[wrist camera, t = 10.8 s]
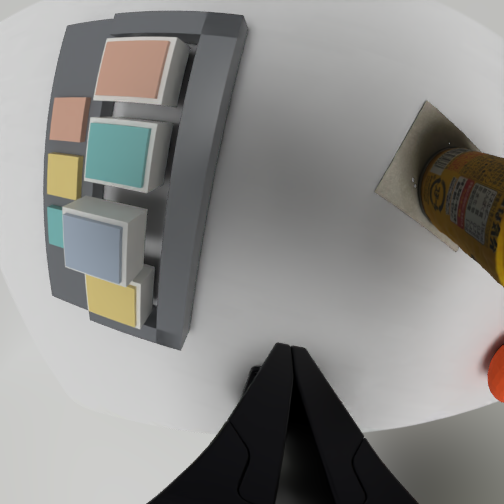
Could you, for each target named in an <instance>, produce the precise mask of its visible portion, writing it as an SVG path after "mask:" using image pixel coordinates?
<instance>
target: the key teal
mask: <svg viewBox="0 0 504 504" xmlns="http://www.w3.org/2000/svg"><path fill="white" fill-rule="evenodd" d="M173 124H174V123H167V122H159V121H151V120H143V119H133V118H123V117H90V123H89V131H88V139H87V148H86V159H85V172H84V181H88V182H93V183H98V184H104V185H109V186H114V187H119V188H124V189H129V190H134V191H138V192H143V193H149V192H151V191H152V190H154V189H156V188H158V187H160V186H162V185H163V184H164V177H165V170H166V164H167V158H168V152H169V146H170V140H171V134H172V129H173Z"/></svg>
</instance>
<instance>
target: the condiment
mask: <svg viewBox="0 0 504 504" xmlns="http://www.w3.org/2000/svg"><path fill="white" fill-rule="evenodd" d="M449 142H450V144H449ZM412 178H414V182H412ZM414 184H416V188H414ZM375 193H376V194H378V195H379V196H381V197H382V198H384V199H385V200H387V201H388V202H390V203H391V204H393V205H394V206H396V207H397V208H398V209H400V210H401V211H403V212H404V213H405V214H407V215H408V216H410V217H411V218H412V219H414V220H415V221H416V222H418V223H419V224H421V225H422V226H423V227H425V228H426V229H427V230H428V231H430V232H431V233H432V234H434V235H435V236H436V237H438V238H439V239H440V240H441V241H443V242H444V243H445V244H446V245H448V246H449V247H450V248H451V249H453V250H454V251H455V252H457V250H458V248H459V247H460V248H461V249H462V250H463V251H464V252H465V253H466V254H468V255H469V256H470V257H471V258H473V259H474V260H475V261H476V262H478V263H479V264H480V265H481V266H482V268H484V269H485V270H486V271H487V272H488V273H489V274H490V275H491V276H492V277H493V278H494V279H495V280H496V281H497V282H498V283H499V284H501V285H502V286H503V287H504V158H501V157H497V156H493V155H489V154H485V153H482V152H481V151H480V150H479V149H478V148H477V147H476V146H475V145H474V144H473V143H472V142H471V141H470V140H469V139H468V138H467V137H466V136H465V134H464V133H463V132H462V131H460V130H459V129H458V128H457V127H456V126H455V125H454V124H453V123H452V122H451V121H449V120H448V119H447V118H446V117H445V116H444V115H443V114H442V113H441V112H440V111H439V110H438V109H437V108H435V107H434V106H433V105H432V104H430V103H429V102H428V101H426V102H425V104H424V106H423V108H422V110H421V111H420V113H419V114H418V116H417V118H416V120H415V122H414V123H413V125H412V128H411V129H410V131H409V132H408V134H407V136H406V138H405V139H404V141H403V143H402V145H401V147H400V148H399V150H398V151H397V153H396V155H395V157H394V159H393V161H392V163H391V165H390V166H389V168H388V169H387V171H386V173H385V174H384V176H383V178H382V180H381V182H380V183H379V185H378V187H377V188H376V190H375Z"/></svg>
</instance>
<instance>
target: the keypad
mask: <svg viewBox="0 0 504 504" xmlns="http://www.w3.org/2000/svg"><path fill="white" fill-rule="evenodd" d="M247 32H248V27H247V24H246V21H245V18H244V16H243V15H236V14H226V13H215V12H200V11H144V12H129V13H118V14H115V16H114V19H106V20H98V21H91V22H84V23H78V24H73V25H68V26H67V28H66V32H65V35H64V39H63V42H62V46H61V50H60V54H59V58H58V62H57V67H56V72H55V77H54V82H53V87H52V93H51V99H50V106H49V113H48V121H47V130H46V141H45V155H44V186H43V195H44V226H45V241H46V252H47V261H48V270H49V277H50V284H51V291H52V296H54V297H57V298H59V299H62V300H64V301H66V302H69V303H71V304H74V305H76V306H79V307H81V308H84V309H86V310H88V305H87V295H86V284H85V274H84V273H81V272H78V271H75V270H72V269H69V268H67V267H65V257H64V243H63V217H62V207H63V206H65V205H67V204H69V203H71V202H73V201H75V200H77V199H79V198H82V197H84V196H90V197H95V198H100V199H103V189H104V184H98V183H93V182H88V181H84V172H85V159H86V148H87V139H88V131H89V123H90V117H112V111H113V106H114V101H97V100H93V97H94V92H95V87H96V82H97V77H98V72H99V68H100V63H101V59H102V55H103V51H104V47H105V43H106V40H107V38H121V37H178V38H179V39H180V40H181V41H183V42H184V43H189V44H198V47H197V50H196V54H195V58H194V62H193V66H192V70H191V74H190V78H189V83H188V87H187V91H186V96H185V101H184V105H183V110H182V115H181V120H180V125H179V130H178V136H177V141H176V147H175V152H174V158H173V164H172V171H171V177H170V184H169V191H168V198H167V206H166V214H165V222H164V231H163V241H162V251H161V262H160V274H159V288H158V305H157V307H156V306H153V309H152V312H151V313H150V315H149V316H148V318H147V320H146V321H145V323H144V324H143V326H142V328H141V329H138V328H135V327H132V326H129V325H126V324H123V323H120V322H117V321H114V320H112V319H109V318H106V317H103V316H101V315H98V314H95V313H93V312H90V311H89V316H90V320H92V321H94V322H97V323H99V324H102V325H105V326H107V327H110V328H113V329H115V330H118V331H121V332H124V333H127V334H130V335H133V336H135V337H138V338H141V339H144V340H147V341H151V342H154V343H157V344H160V345H163V346H167V347H170V348H173V349H177V350H180V351H181V349H182V347H183V344H184V342H185V339H186V337H187V335H188V332H189V329H190V321H191V314H192V306H193V299H194V292H195V285H196V279H197V272H198V265H199V259H200V253H201V247H202V241H203V235H204V229H205V223H206V217H207V212H208V206H209V201H210V195H211V190H212V185H213V180H214V175H215V170H216V165H217V160H218V155H219V150H220V145H221V140H222V136H223V131H224V126H225V122H226V117H227V113H228V109H229V104H230V100H231V96H232V91H233V87H234V83H235V79H236V75H237V71H238V67H239V63H240V59H241V55H242V51H243V47H244V44H245V40H246V36H247Z"/></svg>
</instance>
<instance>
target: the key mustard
mask: <svg viewBox="0 0 504 504" xmlns="http://www.w3.org/2000/svg"><path fill="white" fill-rule="evenodd" d="M154 272H155V267H153V266H150V265H146V264H143V269H142V270H141V271H140V272H139V273H138V275H137V276H136V277H135V278H134V279H133V280H132V281H131V283H130V284H129V285H128V286H127V287H123V286H120V285H117V284H113V283H110V282H107V281H104V280H101V279H98V278H95V277H92V276H89V275H87V274H85V284H86V295H87V305H88V311H90V312H93V313H95V314H98V315H101V316H103V317H106V318H109V319H112V320H114V321H117V322H120V323H123V324H126V325H129V326H132V327H135V328H138V329H141V328H142V326H143V324H144V323H145V321H146V320H147V318H148V316H149V315H150V313H151V312H152V309H153V288H154Z"/></svg>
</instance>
